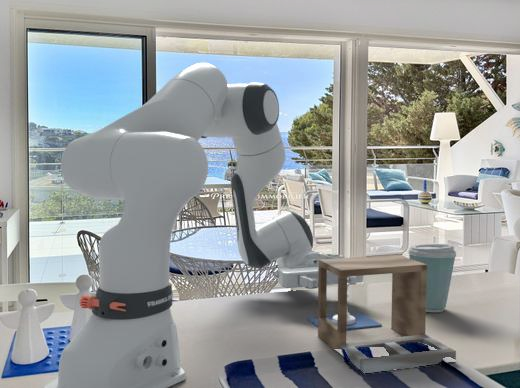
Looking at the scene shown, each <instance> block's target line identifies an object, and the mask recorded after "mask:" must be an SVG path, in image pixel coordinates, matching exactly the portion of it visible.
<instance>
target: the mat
mask: <svg viewBox="0 0 520 388" xmlns="http://www.w3.org/2000/svg"><path fill="white" fill-rule="evenodd" d="M334 315H335V314H333V315H332V314H331V315H326V318H327V319H329V320H330V321H332V319H333V318H332V317H333V316H334ZM349 315H351V316H353V317H355V321H356V322H355V323H354V324H350V325H347V331H348V330H357V329H358V330H359V329H368V328H377V327H383V324H381V323H380V322H378V321H377V320H374V319H373V318H371V317H370V316H368V315H366V314H365V313H363V312H353V313H349ZM307 320H308V321H309V322H310V323H312V325H314V326H315V327H317V328H318V316H311V317H307ZM332 322H333V321H332ZM333 323H334V322H333ZM334 324H336V323H334ZM336 325H337V324H336Z"/></svg>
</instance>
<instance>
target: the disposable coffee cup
mask: <svg viewBox="0 0 520 388" xmlns="http://www.w3.org/2000/svg"><path fill="white" fill-rule="evenodd" d="M407 253H408V256H409V259H412V260H415V261H418V262H421V263H424V264H427V283H426V313H442V312H444V311H445V310H446V307H447V302H448V297H449V292H450V287H451V281H452V275H453V271H454V266H455V259H456V257H457V252H456V251H455V246H454V245H453V244H449V243H424V244H415V245H411V247H408V251H407Z"/></svg>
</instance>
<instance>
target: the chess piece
mask: <svg viewBox="0 0 520 388" xmlns="http://www.w3.org/2000/svg"><path fill="white" fill-rule="evenodd" d="M348 279H349V278H347V280H348ZM349 286H350V285H349V283H347V291H348V290H349ZM348 297H350V294H349V293H348V292H347V298H348ZM349 314H350V312H349V311H348V308H347V325H350V324H354V323H355V322H356V321H355V317H353V316H351V315H349ZM333 315H334V316H333V317H332V318H333V319H332V321H333V322H334V323H336V324H338V314H333Z"/></svg>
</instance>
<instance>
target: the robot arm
mask: <svg viewBox="0 0 520 388" xmlns="http://www.w3.org/2000/svg"><path fill="white" fill-rule="evenodd" d="M279 116H280V106H279V99H278V96H277V94H276V91H274V90H273V88H272V87H270V86H269V85H268V84H266V83H263V82H249V83H231V84H230V83H228V80H227V78H226V76H225V75H224V73H223V71H221V70H220V69H219V68H218V67H216V66H215V65H213V64H211V63H208V62H198V63H195V64H192V65H191V66H189V67H186V68H185V69H183V70H182V71H180V72H178V73H177V74H176V75H174V76H173V77H172V78H171V79H170V80H169V81H168V82H166V83H165V84H164V86H162V88H160V89H159V90H158V91H157V92H156V93H155V94H154V95H153V96H152V97H151V98H150V99H149V100H147V102H145V103H144V104H143V105H141V106H140V107H137V109H135V110H133V111H131V112H130V113H129V112H128V113H127V114H125V115H123V116H122V117H120V118H118V119H116V120H115V121H113V122H111V123H110V124H107V125H105V126H104V127H102V128H100V129H98V130H96V131H93V132H91V133H88V134H86V135H84V136H80V137H78V138H75V139H73V140H72V141H70V142H69V143H68V144H67V145H66V147H65V149H64V151H63V153H62V156H61V163H60V167H61V168H60V169H61V173H62V174H61V175H62V177H63V180H64V182H65V184H66V185H67V187H69V189H70V190H72V191H73V192H75V193H78V194H81V195H84V196H86V197H91V198H93V199H98V200H108V201H109V200H111V201H112V200H114V201H124V204H123V205H124V206H123V211H122V215H121V218H120V219H119V221H118V223H117V224H115V225H114V226H112V227H111V228H108V230H107V231H106V232H105V233H104V234H103V235H102V236H101V238H100V241H99V243H98V244H99V245H98V261H99V262H98V265H99V270H98V271H99V286H98V287H97V289H96V293H95V295H94V296H92V295H91V296H90V295H87V294H82V296H80V299H79V303H78V304H79V306H80V308H82V309H89V310H91V313H92V314H91V315H90V316H89V318H88V319H87V320H86V322H85V323H84V324H83V325H82V327H81V328H80V329H79V330H78V332H77V333H76V334H75V335H74V336H73V338H72V339H71V340H70V342H68V344H67V345H66V346H65V348H63V350H62V352H61V354H60V357H59V362H58V363H59V364H58V374H57V375H58V376H57V377H55V378H54V379H53V380H52V381H50V382H48V383H47V384H45V385H44V386H43V387H42V388H170V387H171V386H174V385H176V384H178V383H181V382H182V381H183V382H184V381H185V380H186V378H187V375H186V370H185V369H184V368H183V366H182V365H181V357H180V347H179V337H178V329H177V328H178V327H177V325H176V322H175V320H174V318H173V315H172V311H171V307H172V306H173V297H174V292H173V285H172V283H171V282H170V252H171V240H172V235H173V230H174V228H175V224H176V222H177V219H178V218H179V215H180V213H181V212H182V211H183V209H184V207H186V205H187V204H188V203H189V201H191V200H192V199H193V198H194V197H196V196H197V195H198V194H199V193H200V192H201V190H202V189H203V187H204V185H205V183H206V180H207V178H208V173H209V163H208V157H207V154H206V151H205V150H204V148H203V145H201V143H200V142H199V140H200V139H207V138H217V139H218V138H223V139H224V138H231V139H232V142H233V147H234V150H235V153H236V157H237V161H236V162H237V164H236V168H235V172H234V174H233V176H232V177H231V179H230V188H231V191H230V192H231V197H232V205H233V212H234V220H235V225H236V235H237V236H236V237H237V239H236V240H237V248H238V254H239V256H240V259H241V260H242V262H243V263H244V265H245V266H247V267H250V268H254V269H257V270H258V269H259V270H261V269H263V268H264V267H266V266H268V265H269V264H271V263H272V262H274V261H276V264H277V266H278V269H277V270H276V271H272V277H274V278H277V282H278V283H279V285H280V286H281V287H282V288H285V289H294V288H295V289H296V288H305V289H309V290H313V289H318V267H319V260H320V259H337V258H345V255H342V254H331V253H330V254H329V253H322V252H319V251H314V250H312V249H313V248H314V236H313V233H312V230H311V227H310V226H309V224H308V222H307V221H306V220H305V219H304V217H302V216H301V215H299V214H298V213H296V212H294V211H290V210H286V211H285V212H283V213H281V214H278V215H277V216H275V217H272V219H270V220H267V221H265V222H263V223H261V224H259V225H257V226H256V221H255V212H254V204H255V201H256V199H257V197H258V196H259V194H261V192H262V191H263V190H264V189H265V187H267V186H268V184H270V183H271V182H272V181H273V180H275V178H277V176H278V175H279V174H280V172H281V171H282V169H283V167H284V164H285V161H286V152H285V146H284V143H283V138H282V135H281V132H280V128H279V126H278V121H279ZM364 277H365V275H363V276H349V277H347V278H349V279H348V280H347V283H349V286H353V285H354V286H355V285H357V283H362V282H363V281H364ZM332 285H338V275H336V274H334V273H332V272H330V271H328V270H327V286H332Z"/></svg>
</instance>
